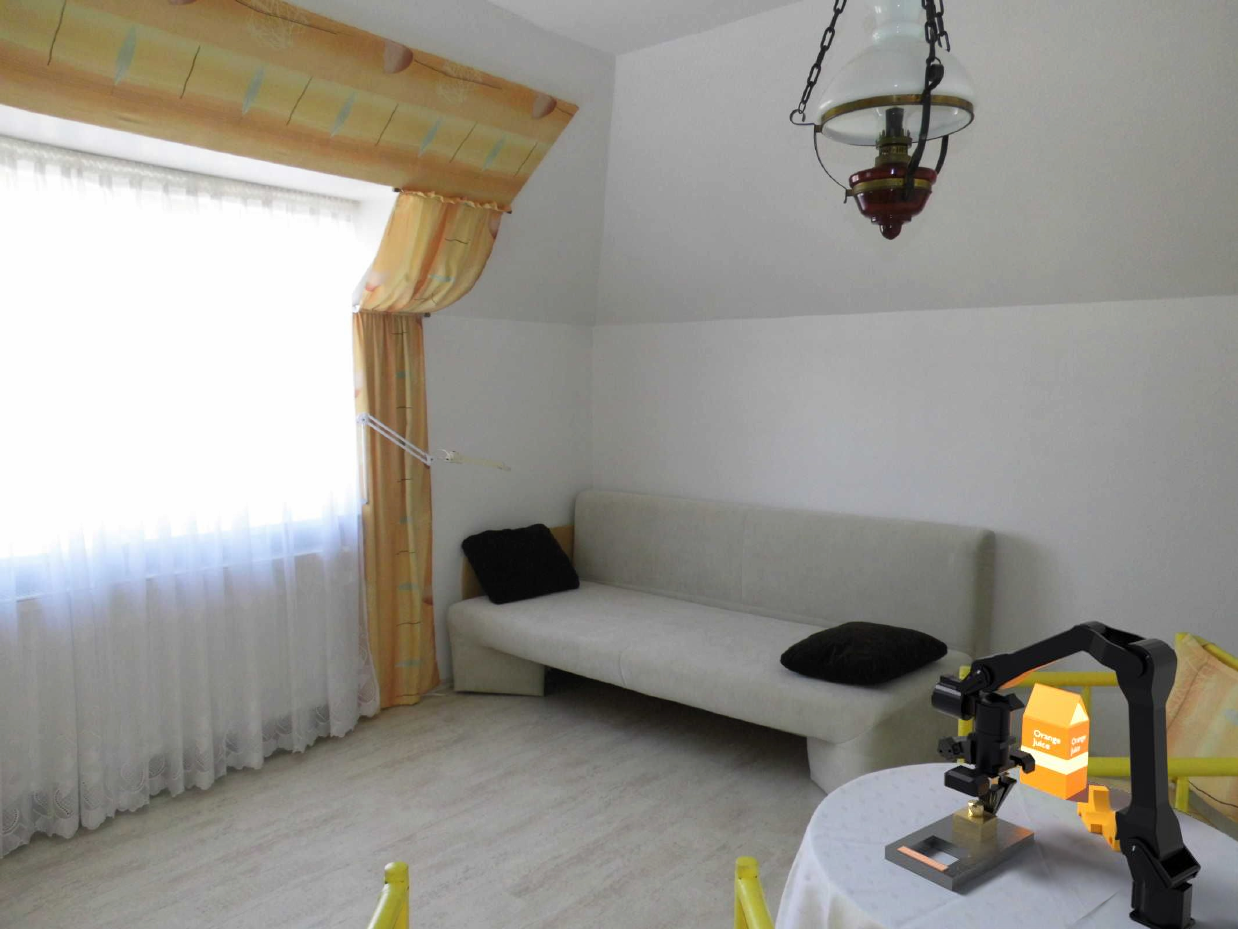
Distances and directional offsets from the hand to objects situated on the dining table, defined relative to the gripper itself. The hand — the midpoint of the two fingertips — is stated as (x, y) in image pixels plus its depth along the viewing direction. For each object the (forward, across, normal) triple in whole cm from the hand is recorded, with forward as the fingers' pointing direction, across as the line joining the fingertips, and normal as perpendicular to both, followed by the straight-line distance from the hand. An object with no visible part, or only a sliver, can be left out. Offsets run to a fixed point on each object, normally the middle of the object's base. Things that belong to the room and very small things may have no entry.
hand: (988, 819), depth 152 cm
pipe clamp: (+3, -16, +12) cm, 20 cm away
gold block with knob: (+1, +4, 0) cm, 4 cm away
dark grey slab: (+3, +8, 0) cm, 9 cm away
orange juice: (+3, -26, -2) cm, 26 cm away
